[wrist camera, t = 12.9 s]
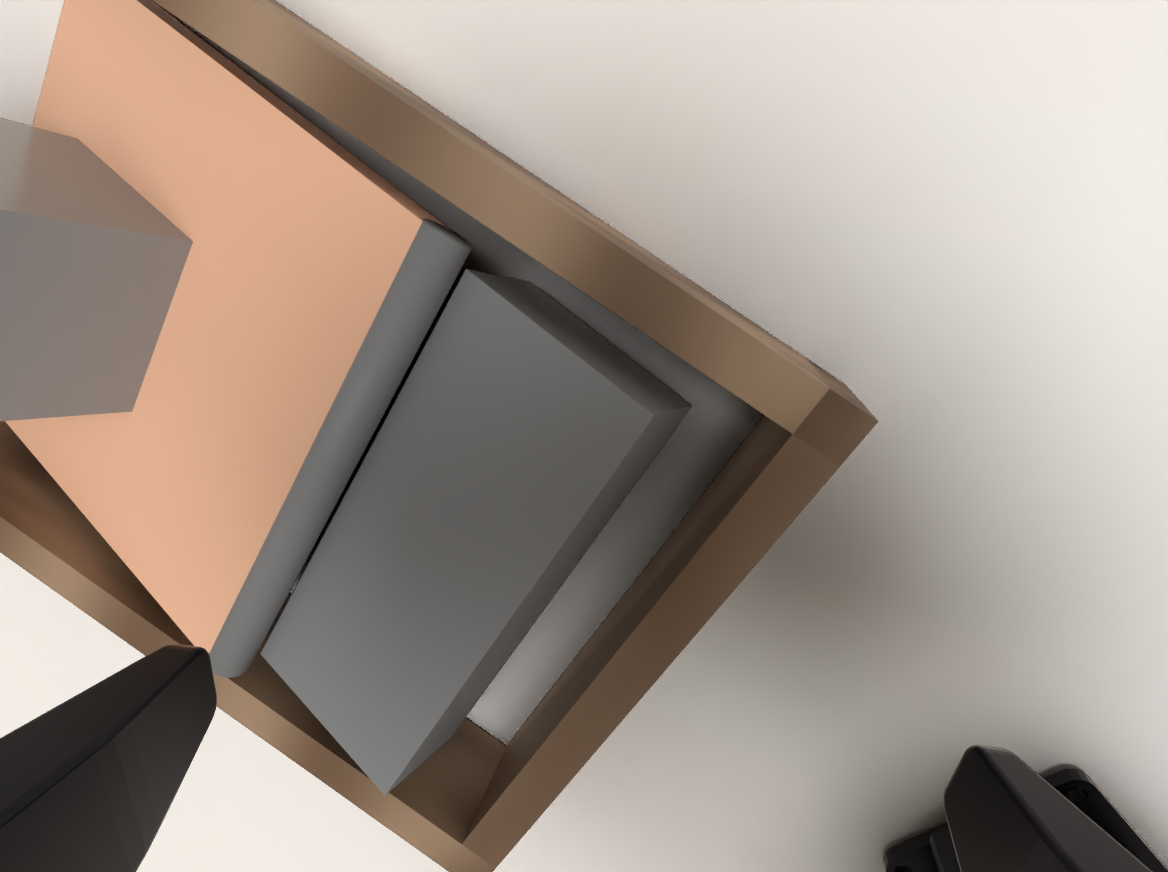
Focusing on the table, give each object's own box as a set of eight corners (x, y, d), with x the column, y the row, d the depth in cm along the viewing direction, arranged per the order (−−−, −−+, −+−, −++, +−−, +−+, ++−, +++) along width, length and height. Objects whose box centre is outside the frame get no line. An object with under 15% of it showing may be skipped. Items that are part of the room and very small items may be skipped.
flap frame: (845, 384, 17) (878, 421, 13) (517, 786, 23) (476, 890, 19) (88, -126, 18) (-85, -228, 14) (-42, 392, 24) (-188, 418, 20)
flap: (704, 389, 16) (650, 398, 12) (443, 747, 21) (347, 833, 17) (214, 22, 21) (71, -49, 17) (96, 374, 26) (-36, 377, 22)
